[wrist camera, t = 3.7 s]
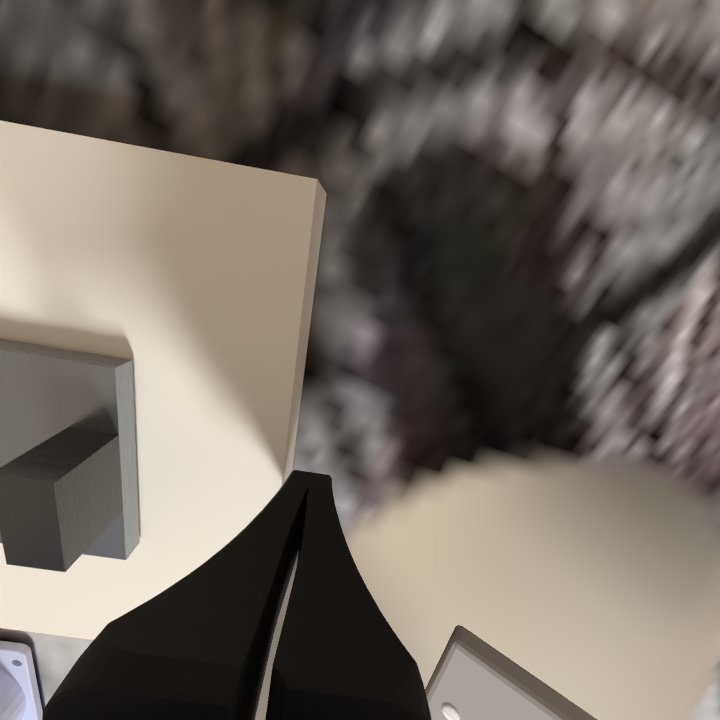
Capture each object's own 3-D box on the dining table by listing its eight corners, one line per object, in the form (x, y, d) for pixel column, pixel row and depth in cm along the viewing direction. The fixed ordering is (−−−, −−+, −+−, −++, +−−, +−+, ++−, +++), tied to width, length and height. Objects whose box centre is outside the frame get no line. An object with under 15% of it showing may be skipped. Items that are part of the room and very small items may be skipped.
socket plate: (274, 606, 18) (261, 660, 15) (-80, 559, 17) (-152, 608, 15) (326, 193, 12) (317, 179, 9) (-220, 93, 11) (-379, 50, 9)
